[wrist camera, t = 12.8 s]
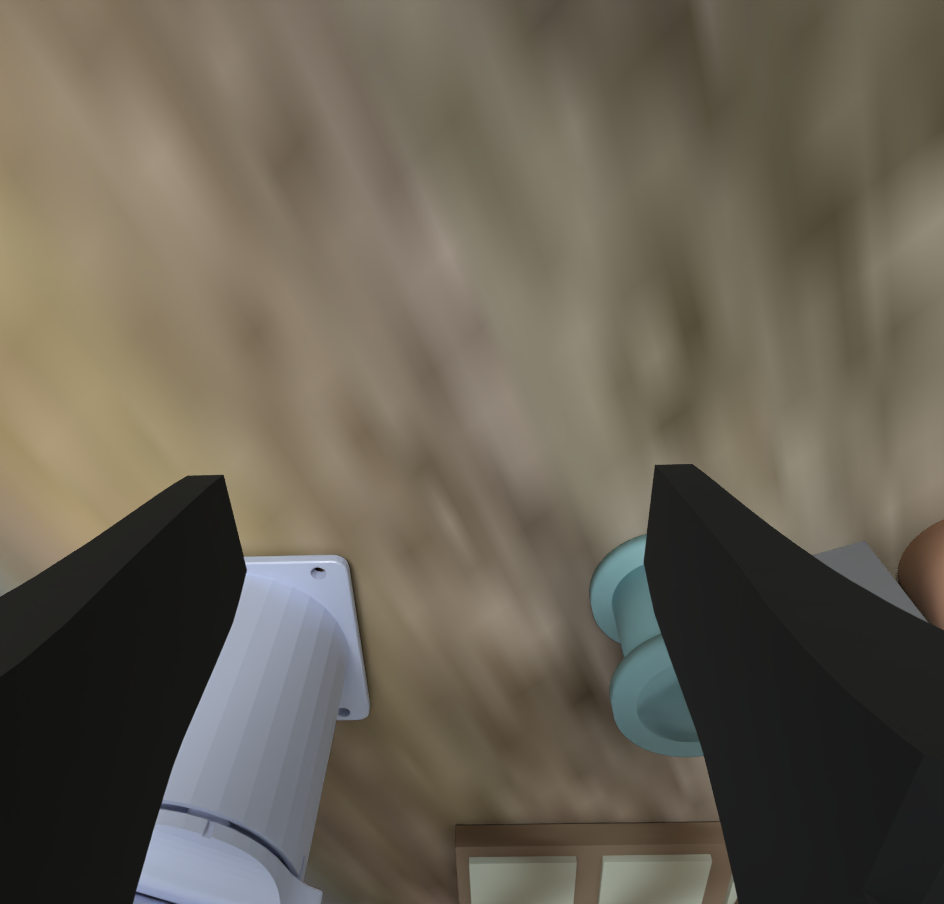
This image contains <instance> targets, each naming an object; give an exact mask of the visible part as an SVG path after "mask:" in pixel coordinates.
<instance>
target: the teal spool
mask: <svg viewBox="0 0 944 904" xmlns="http://www.w3.org/2000/svg"><path fill="white" fill-rule="evenodd" d="M646 537H647V534H645V535H641V536H638V537H636V538H633V539H631V540H628V541H626V542H625V543H623V544H621V545H619V546H618V547H616V548H615V549H613V550H612V551H611V552H610V553H609V554H608V555H606V557H605V558H604V559H603V560H602V561H601V562H600V564H599V565H598V566H597V568H596V570H595V572H594V574H593V576H592V579H591V582H590V589H589V595H590V601H591V606H592V611H593V615H594V618H595V621H596V622H597V624H598V626H599V627H600V628H601V630H602V631H603V632H604V633H605V634H606V635H607V636H609V637H610V638H611V639H613V640H614V641H616V642H618V643H620V644H621V647H622V651H623V655H624V658H623V660H622V661H621V662H620V664H619V665H618V666H617V668H616V670H615V672H614V674H613V676H612V679H611V683H610V700H611V705H612V710H613V715H614V719H615V722H616V724H617V726H618V728H619V729H620V731H621V732H622V733H623V734H624V735H625V737H626V738H628V739H629V740H630V741H631V742H633V743H634V744H636V745H638V746H639V747H641V748H644V749H646V750H648V751H651V752H654V753H657V754H662V755H667V756H676V757H696V756H704V755H703V751H702V748H701V745H700V742H699V738H698V735H697V732H696V729H695V726H694V724H693V721H692V718H691V715H690V712H689V710H688V707H687V704H686V701H685V699H684V696H683V693H682V690H681V688H680V685H679V682H678V679H677V676H676V674H675V671H674V668H673V665H672V663H671V660H670V657H669V654H668V652H667V649H666V646H665V643H664V640H663V637H662V635H661V632H660V629H659V626H658V623H657V620H656V617H655V614H654V610H653V605H652V601H651V597H650V592H649V587H648V582H647V577H646V572H645V567H644V554H645V545H646Z"/></svg>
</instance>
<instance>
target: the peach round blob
mask: <svg viewBox="0 0 944 904" xmlns="http://www.w3.org/2000/svg"><path fill="white" fill-rule="evenodd" d="M898 578H899V581H900V584H901V586H902V588H903V589H904V590H905V591H906V593H907V594H908V595H909V597H910V598H911V599H912V600H913V602H914V603H915V604H916V606H917V607H918V608H919V609H920V611H921V612H922V613H923V615H924V616H925V617H926V618H927V620H928V621H929V622H930V624H932V625H934V626H936V627H938V628H940V629H942V630H944V520H942V521H940V522H938V523H936V524H934V525H932V526H930V527H929V528H927V529H926V530H925V531H923V532H922V533H921V534H919V535H918V536H917V537H916V538H915V539H914V540H913V541H912V542H911V543H910V544H909V546H908V547H907V548H906V550H905V551H904V553H903V555H902V557H901V559H900V562H899V566H898Z"/></svg>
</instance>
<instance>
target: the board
mask: <svg viewBox="0 0 944 904" xmlns="http://www.w3.org/2000/svg"><path fill="white" fill-rule="evenodd" d="M455 853H456V867H457V880H458V894H459V904H734V903H735V901H736V899H737V894H736V889H735V884H734V880H733V876H732V871H731V867H730V862H729V858H728V854H727V849H726V845H725V841H724V836H723V832H722V827H721V823H720V822H682V823H607V824H532V825H457V826H456V830H455Z"/></svg>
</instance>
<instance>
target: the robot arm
mask: <svg viewBox="0 0 944 904" xmlns="http://www.w3.org/2000/svg"><path fill="white" fill-rule="evenodd" d="M316 567H319V568H322V569H324V570H325V571H323V572H320V571H317V570H315V569H314V568H316ZM644 567H645V572H646V577H647V582H648V587H649V592H650V597H651V601H652V605H653V610H654V614H655V617H656V620H657V623H658V626H659V629H660V632H661V635H662V637H663V640H664V643H665V646H666V649H667V652H668V654H669V657H670V660H671V663H672V665H673V668H674V671H675V674H676V676H677V679H678V682H679V685H680V688H681V690H682V693H683V696H684V699H685V701H686V704H687V707H688V710H689V712H690V715H691V718H692V721H693V724H694V726H695V729H696V732H697V735H698V738H699V742H700V745H701V748H702V751H703V755H704V758H705V762H706V766H707V770H708V774H709V778H710V782H711V786H712V790H713V794H714V798H715V802H716V806H717V810H718V814H719V819H720V823H721V827H722V832H723V836H724V841H725V845H726V849H727V854H728V858H729V862H730V867H731V871H732V876H733V880H734V884H735V889H736V894H737V899H738V904H944V630H942V629H940V628H938V627H936V626H934V625H932V624H930V623H928V622H926V621H924V620H922V619H920V618H918V617H916V616H914V615H912V614H910V613H908V612H906V611H904V610H902V609H900V608H898V607H897V606H895V605H893V604H891V603H889V602H887V601H886V600H884V599H882V598H880V597H879V596H877V595H875V594H874V593H872V592H870V591H868V590H867V589H865V588H863V587H861V586H860V585H858V584H856V583H854V582H853V581H851V580H849V579H848V578H846V577H844V576H843V575H841V574H840V573H838V572H836V571H835V570H833V569H832V568H830V567H829V566H827V565H826V564H824V563H823V562H821V561H820V560H818V559H817V558H815V557H814V556H812V555H811V554H809V553H808V552H806V551H805V550H803V549H802V548H801V547H799V546H798V545H796V544H795V543H793V542H792V541H791V540H789V539H788V538H787V537H785V536H784V535H782V534H781V533H780V532H778V531H777V530H776V529H774V528H773V527H772V526H770V525H769V524H768V523H766V522H765V521H764V520H762V519H761V518H760V517H759V516H757V515H756V514H755V513H753V512H752V511H751V510H750V509H748V508H747V507H746V506H745V505H743V504H742V503H741V502H740V501H738V500H737V499H736V498H735V497H733V496H732V495H731V494H730V493H728V492H727V491H726V490H725V489H723V488H722V487H721V486H720V485H719V484H717V483H716V482H715V481H714V480H712V479H711V478H710V477H709V476H707V475H706V474H705V473H704V472H702V471H701V470H700V469H698V468H697V467H696V466H694V465H693V464H675V465H655V470H654V478H653V486H652V495H651V503H650V512H649V520H648V528H647V537H646V545H645V554H644ZM345 708H347V709H345ZM369 710H370V699H369V693H368V686H367V680H366V673H365V667H364V660H363V653H362V647H361V640H360V634H359V627H358V621H357V614H356V607H355V601H354V594H353V588H352V581H351V574H350V568H349V564H348V562H347V561H346V560H345V559H344V558H342V557H340V556H337V555H307V556H260V557H244V556H243V552H242V548H241V544H240V540H239V536H238V531H237V527H236V523H235V519H234V515H233V511H232V507H231V503H230V499H229V495H228V491H227V487H226V483H225V479H224V475H200V476H186V477H185V478H183V479H181V480H179V481H178V482H176V483H174V484H173V485H171V486H170V487H168V488H167V489H165V490H164V491H162V492H161V493H159V494H158V495H156V496H155V497H153V498H152V499H151V500H149V501H148V502H146V503H145V504H143V505H142V506H140V507H139V508H138V509H136V510H135V511H133V512H132V513H130V514H129V515H128V516H126V517H125V518H123V519H122V520H120V521H119V522H117V523H116V524H115V525H113V526H112V527H110V528H109V529H107V530H106V531H104V532H103V533H101V534H100V535H99V536H97V537H96V538H94V539H93V540H91V541H90V542H88V543H87V544H85V545H84V546H82V547H81V548H79V549H77V550H76V551H74V552H73V553H71V554H70V555H68V556H66V557H65V558H63V559H62V560H60V561H59V562H57V563H55V564H54V565H52V566H51V567H49V568H48V569H46V570H44V571H43V572H41V573H40V574H38V575H37V576H35V577H33V578H32V579H30V580H28V581H27V582H25V583H23V584H22V585H20V586H18V587H17V588H15V589H13V590H11V591H10V592H8V593H6V594H4V595H2V596H1V597H0V904H321V902H322V897H323V892H322V891H321V890H319V889H317V888H314V887H312V886H309V885H307V884H305V883H304V877H305V872H306V867H307V862H308V857H309V853H310V848H311V843H312V838H313V833H314V828H315V823H316V818H317V813H318V808H319V804H320V799H321V794H322V789H323V784H324V779H325V774H326V769H327V764H328V759H329V755H330V750H331V745H332V740H333V735H334V730H335V725H336V720H360V719H364V718H366V717H367V716H368V715H369Z"/></svg>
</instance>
